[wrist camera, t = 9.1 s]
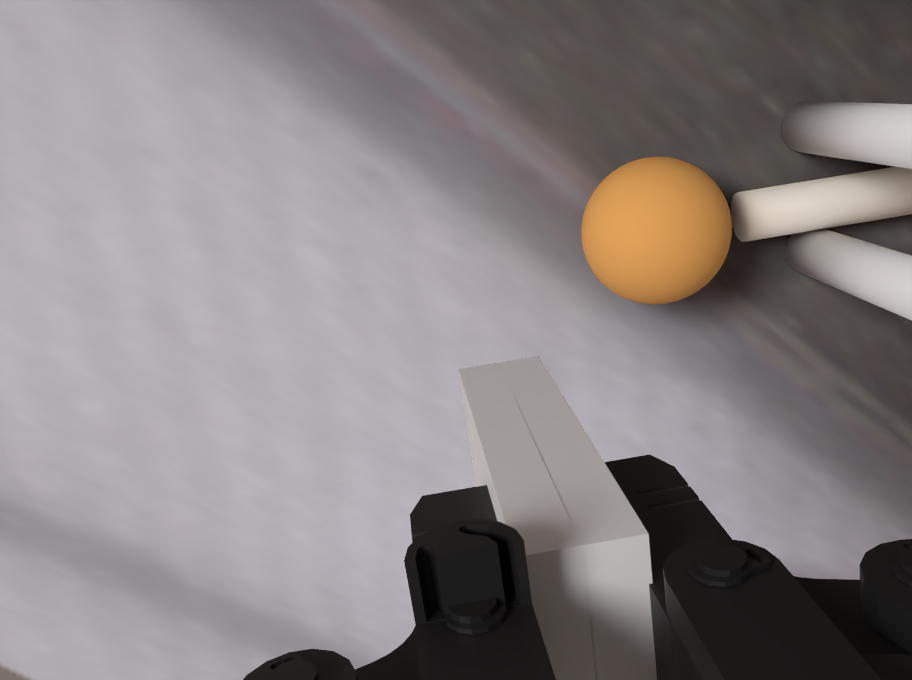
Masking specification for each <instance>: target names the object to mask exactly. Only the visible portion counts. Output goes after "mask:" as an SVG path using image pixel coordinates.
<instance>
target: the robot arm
mask: <svg viewBox="0 0 912 680" xmlns="http://www.w3.org/2000/svg"><path fill="white" fill-rule="evenodd" d="M459 376H460V383H461V390H462V396H463V403H464V410H465V417H466V423H467V430H468V437H469V444H470V451H471V457H472V464H473V471H474V478H475V484H476V487H472V488H466V489H461V490H455V491H449V492H443V493H437V494H431V495H426V496H422V497H421V499H420V500H419V502H418V503H417V505H416V506H415V508H414V510H413V511H412V513H411V514H410V519H411V531H412V542H413V543H412V544H411V545H410V546H409V547H408V549H407V553H406V556H405V560H404V562H405V567H406V573H407V579H408V584H409V590H410V595H411V601H412V606H413V612H414V617H415V623H416V626H415V628H414V630H413V632H412V634H411V635H410V636H409V637H408V638H407V639H406V641H405V642H404V643H403V644H402V645H401V646H399V647H398V648H397V649H395V650H394V651H393V652H391V653H390V654H388V655H386V656H384V657H382V658H380V659H378V660H376V661H375V662H372V663H370V664H368V665H365V666H363V667H360V668H358V669H356V670H355V669H354V668H353V666H352V664H351V662H350V661H349V659H347V658H345V657H343V656H341V655H339V654H337V653H336V652H334V651H327V650H318V649H309V650H302V651H296V652H289V653H287V654H284V655H282V656H279V657H277V658H274V659H272V660H269V661H267V662H265V663H264V664H262V665H261V666H259V667H258V668H256V669H255V670H254V671H252V672H251V673H249V674H248V675H247V676H246V677H245V678H244V679H243V680H912V539H906V540H898V541H893V542H888V543H883V544H880V545H878V546H876V547H874V548H873V549H871V550H869V551H867V552H866V553H865V555H864V557H863V559H862V561H861V563H860V580H839V579H812V578H800V577H794V576H793V575H792V574H791V573H790V572H789V571H788V570H787V568H786V567H785V566H784V565H783V564H782V563H781V561H780V560H779V559H778V558H776V557H775V556H774V555H772V554H771V553H770V552H768V551H767V550H766V549H764V548H761V547H759V546H756V545H753V544H751V543H748V542H745V541H737V540H732V539H731V537H730V536H729V535H728V534H727V532H726V531H725V530H724V528H723V527H722V526H721V525H720V523H719V522H718V521H717V520H716V518H715V517H714V516H713V515H712V513H711V512H710V511H709V510H708V508H707V507H706V506H705V505H704V503H703V502H702V501H699V497H698V496H697V495H696V493H695V492H694V491H693V490H692V488H691V487H688V483H687V482H686V481H685V479H684V478H683V477H682V476H681V474H680V473H679V472H678V471H677V469H676V468H675V467H674V466H672V465H670V464H668V463H666V462H664V461H662V460H660V459H658V458H655V457H653V456H651V455H645V456H639V457H633V458H627V459H621V460H616V461H610V462H604V461H603V459H602V458H601V456H600V454H599V453H598V451H597V450H596V448H595V446H594V445H593V443H592V442H591V440H590V438H589V437H588V435H587V433H586V432H585V430H584V429H583V427H582V425H581V424H580V422H579V421H578V419H577V417H576V416H575V414H574V412H573V411H572V409H571V408H570V406H569V404H568V403H567V401H566V399H565V398H564V396H563V395H562V393H561V391H560V390H559V388H558V387H557V385H556V383H555V382H554V380H553V378H552V377H551V375H550V374H549V372H548V370H547V369H546V367H545V366H544V364H543V362H542V361H541V359H540V357H539V356H537V357H531V358H525V359H519V360H513V361H507V362H501V363H495V364H488V365H482V366H476V367H470V368H464V369H459Z"/></svg>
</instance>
